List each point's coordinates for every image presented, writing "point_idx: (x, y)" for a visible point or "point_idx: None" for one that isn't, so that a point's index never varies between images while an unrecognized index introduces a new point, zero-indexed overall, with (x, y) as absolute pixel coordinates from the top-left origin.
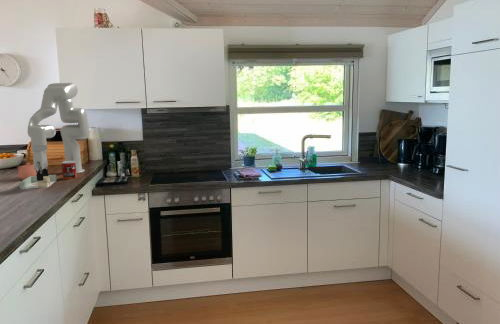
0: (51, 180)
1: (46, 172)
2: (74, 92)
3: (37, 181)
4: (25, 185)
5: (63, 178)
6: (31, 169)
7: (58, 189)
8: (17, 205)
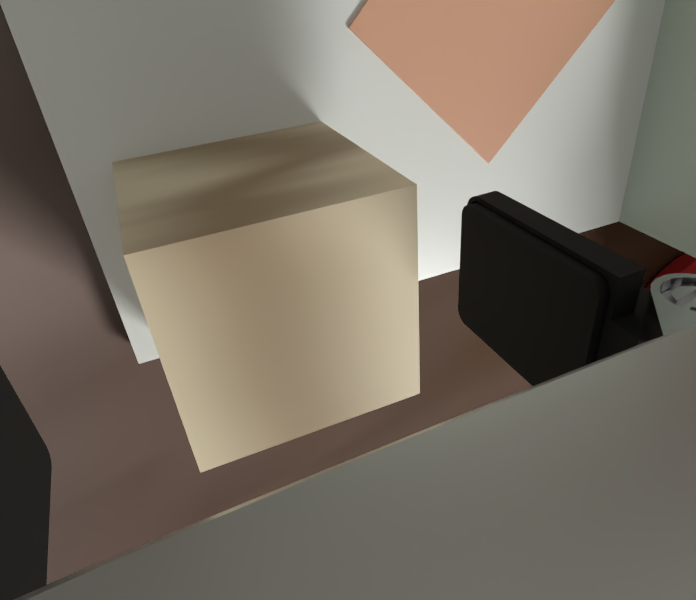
0: (643, 155)
1: (541, 367)
2: None
3: (121, 218)
4: None
5: (692, 270)
6: None
7: (57, 535)
8: None
